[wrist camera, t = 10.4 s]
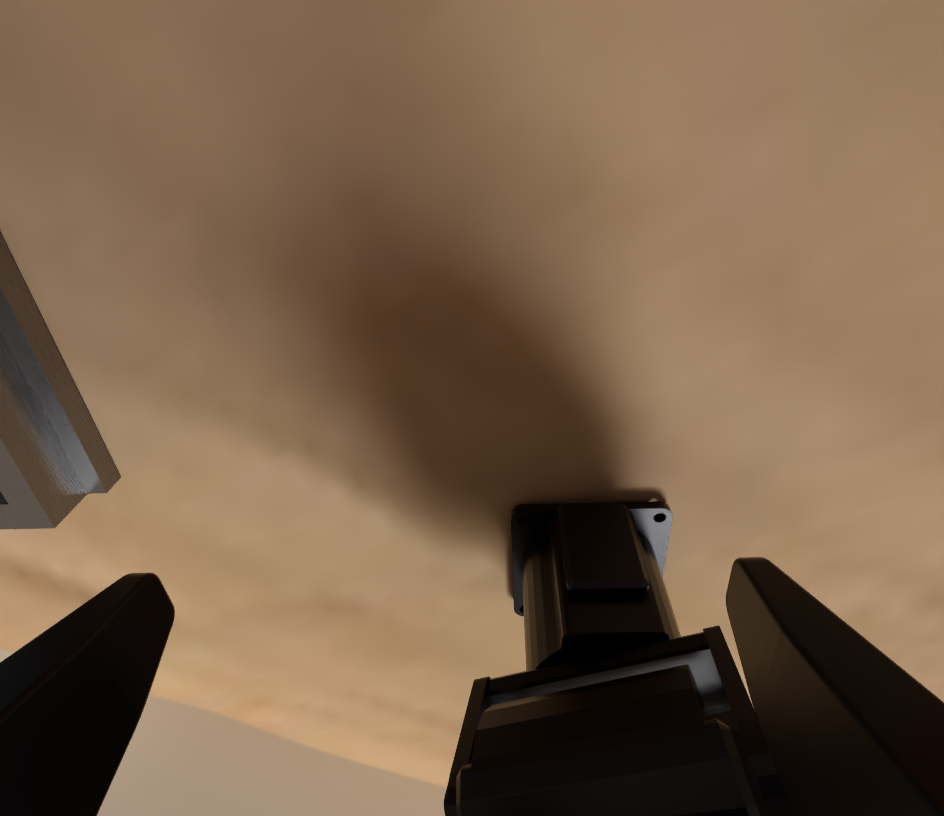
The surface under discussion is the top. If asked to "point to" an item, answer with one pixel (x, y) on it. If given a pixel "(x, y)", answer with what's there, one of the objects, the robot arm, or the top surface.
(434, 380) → the top surface
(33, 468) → the floor track
